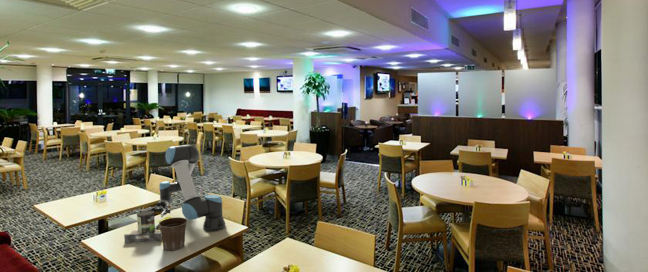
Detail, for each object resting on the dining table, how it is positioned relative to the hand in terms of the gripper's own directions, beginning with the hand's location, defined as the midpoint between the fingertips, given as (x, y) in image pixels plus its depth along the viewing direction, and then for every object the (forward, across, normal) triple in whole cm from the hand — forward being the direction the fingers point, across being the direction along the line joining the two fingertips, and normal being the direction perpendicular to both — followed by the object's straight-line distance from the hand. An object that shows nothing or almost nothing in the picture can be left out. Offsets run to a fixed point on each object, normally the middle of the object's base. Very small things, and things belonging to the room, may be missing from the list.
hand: (151, 215), depth 238 cm
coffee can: (+10, 0, -9) cm, 13 cm away
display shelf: (+9, 0, -12) cm, 15 cm away
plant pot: (+26, -22, -12) cm, 36 cm away
